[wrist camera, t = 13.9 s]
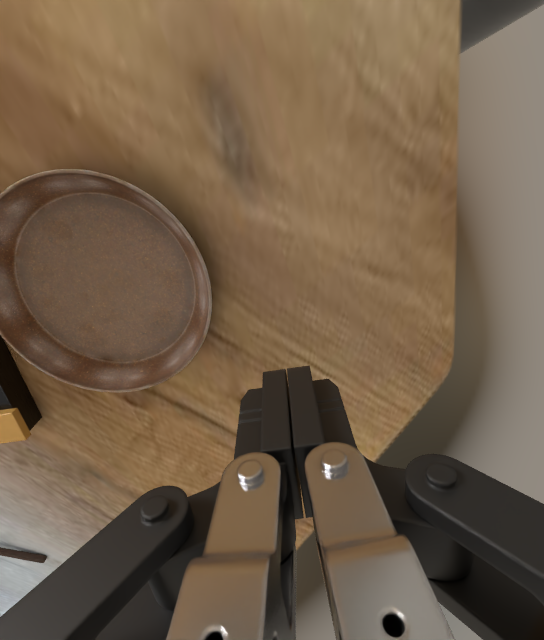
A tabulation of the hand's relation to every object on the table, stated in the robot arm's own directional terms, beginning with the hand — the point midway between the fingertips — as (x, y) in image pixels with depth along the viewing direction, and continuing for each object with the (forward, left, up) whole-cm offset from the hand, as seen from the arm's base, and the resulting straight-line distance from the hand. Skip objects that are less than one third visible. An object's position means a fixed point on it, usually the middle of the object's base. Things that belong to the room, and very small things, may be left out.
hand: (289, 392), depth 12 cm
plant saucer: (+14, 0, -19) cm, 24 cm away
